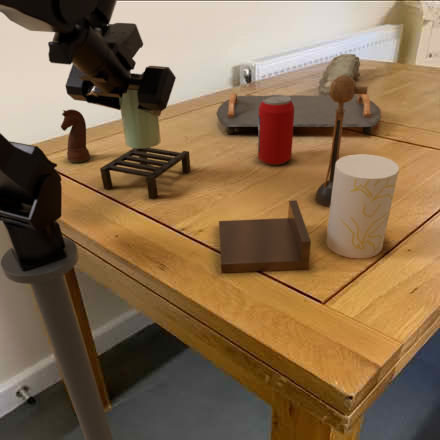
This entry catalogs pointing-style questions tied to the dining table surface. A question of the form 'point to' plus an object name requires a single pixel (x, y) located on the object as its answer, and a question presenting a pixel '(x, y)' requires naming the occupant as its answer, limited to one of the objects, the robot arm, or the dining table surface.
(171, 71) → the robot arm
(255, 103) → the serving tray
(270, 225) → the shelf
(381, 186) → the white patterned canister
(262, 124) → the beverage can
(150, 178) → the rack
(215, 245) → the dining table surface
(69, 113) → the chess piece
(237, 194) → the dining table surface
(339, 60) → the elongated rock
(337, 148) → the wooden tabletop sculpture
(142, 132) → the green cup
